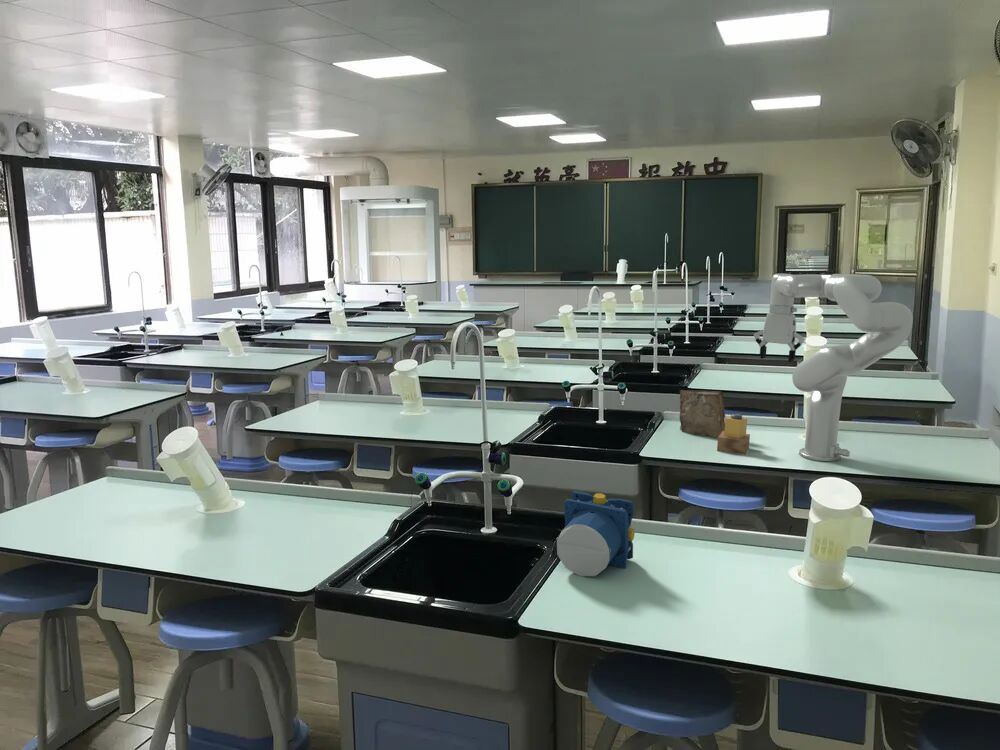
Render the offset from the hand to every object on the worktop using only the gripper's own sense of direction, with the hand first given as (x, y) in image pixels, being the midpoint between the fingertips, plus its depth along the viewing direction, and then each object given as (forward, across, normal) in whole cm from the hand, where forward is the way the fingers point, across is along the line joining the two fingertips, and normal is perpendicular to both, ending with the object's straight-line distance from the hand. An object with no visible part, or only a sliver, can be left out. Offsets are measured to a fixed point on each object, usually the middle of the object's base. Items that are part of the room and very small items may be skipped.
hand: (776, 359), depth 274 cm
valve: (+29, -9, +131) cm, 134 cm away
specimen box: (+29, +5, +21) cm, 36 cm away
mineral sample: (+29, +22, +10) cm, 37 cm away
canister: (+24, +4, +21) cm, 32 cm away
